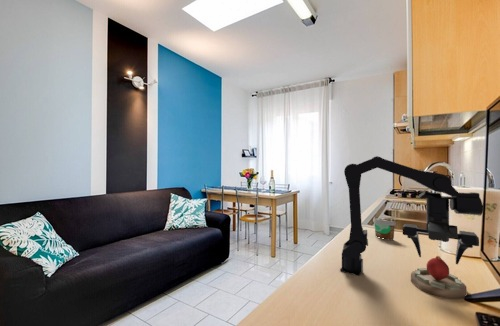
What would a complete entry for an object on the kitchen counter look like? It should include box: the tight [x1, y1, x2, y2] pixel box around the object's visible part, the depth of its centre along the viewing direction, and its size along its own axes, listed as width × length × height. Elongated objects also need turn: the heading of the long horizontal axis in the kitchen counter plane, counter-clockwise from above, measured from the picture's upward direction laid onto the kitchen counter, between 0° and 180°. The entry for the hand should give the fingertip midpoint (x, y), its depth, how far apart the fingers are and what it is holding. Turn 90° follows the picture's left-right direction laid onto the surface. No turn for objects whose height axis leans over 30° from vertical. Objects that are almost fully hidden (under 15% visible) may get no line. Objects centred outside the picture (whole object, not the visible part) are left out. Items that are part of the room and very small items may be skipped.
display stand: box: [410, 267, 468, 300], centre depth 75 cm, size 14×14×3 cm
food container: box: [372, 216, 397, 240], centre depth 125 cm, size 12×6×10 cm, turn 17°
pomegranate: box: [426, 255, 450, 281], centre depth 75 cm, size 6×6×8 cm
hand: (437, 260), depth 75 cm, fingers open, 9 cm apart
